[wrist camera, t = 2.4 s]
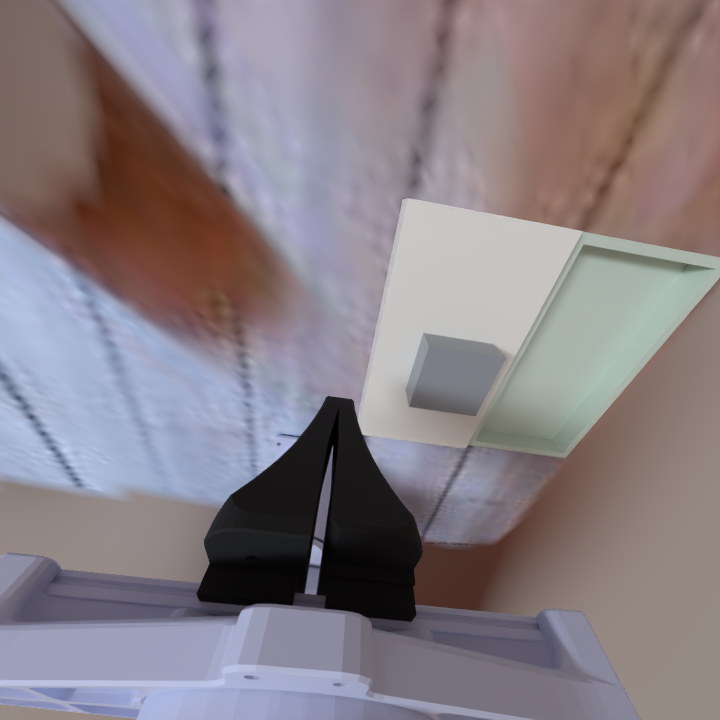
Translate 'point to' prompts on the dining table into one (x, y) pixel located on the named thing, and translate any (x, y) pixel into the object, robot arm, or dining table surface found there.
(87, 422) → the dining table surface
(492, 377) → the grey tile
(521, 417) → the box
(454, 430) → the white board
